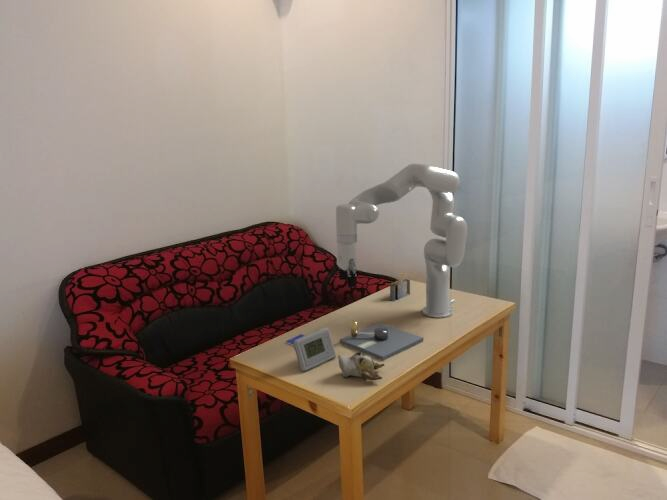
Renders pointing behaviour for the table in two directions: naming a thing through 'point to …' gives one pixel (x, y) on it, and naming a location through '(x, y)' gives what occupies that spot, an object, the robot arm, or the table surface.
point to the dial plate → (382, 342)
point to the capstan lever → (377, 334)
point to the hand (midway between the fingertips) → (347, 283)
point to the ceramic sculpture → (359, 366)
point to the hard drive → (294, 339)
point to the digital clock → (314, 349)
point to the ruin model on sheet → (399, 289)
